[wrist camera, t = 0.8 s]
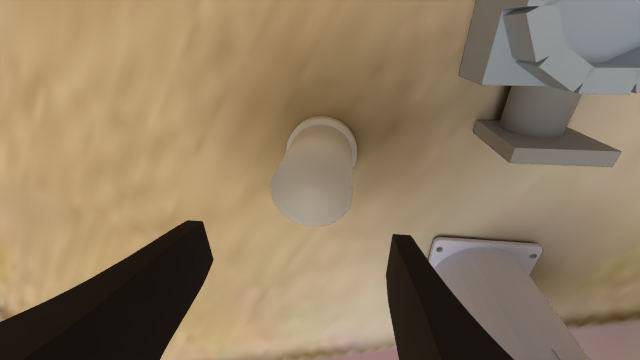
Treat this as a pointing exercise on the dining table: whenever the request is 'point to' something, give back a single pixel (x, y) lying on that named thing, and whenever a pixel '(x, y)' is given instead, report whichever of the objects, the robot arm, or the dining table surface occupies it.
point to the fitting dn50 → (316, 172)
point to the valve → (551, 72)
